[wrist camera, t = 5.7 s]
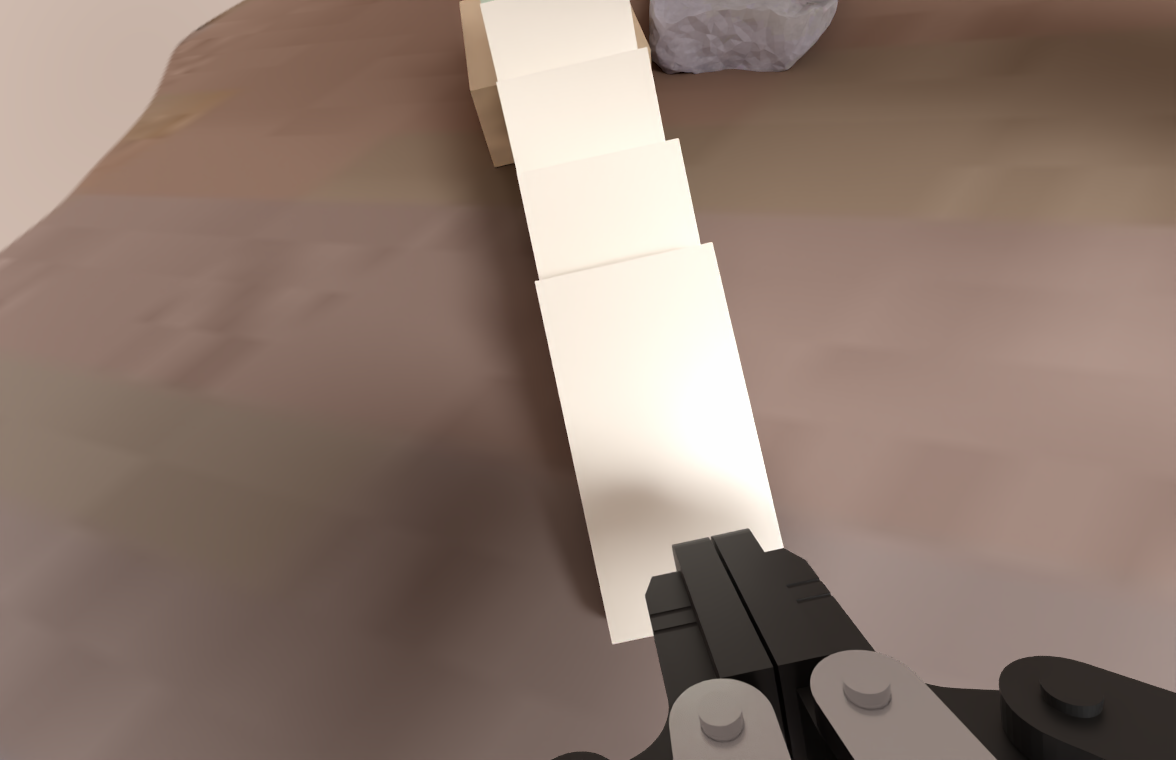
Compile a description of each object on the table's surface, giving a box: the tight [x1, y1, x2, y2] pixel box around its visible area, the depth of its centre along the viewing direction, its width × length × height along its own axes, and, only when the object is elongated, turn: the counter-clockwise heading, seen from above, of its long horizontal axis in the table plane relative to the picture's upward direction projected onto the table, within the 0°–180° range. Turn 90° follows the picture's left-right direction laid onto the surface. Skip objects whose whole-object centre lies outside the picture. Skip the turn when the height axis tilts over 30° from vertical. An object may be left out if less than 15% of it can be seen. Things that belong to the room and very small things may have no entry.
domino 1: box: [480, 0, 638, 81], centre depth 21 cm, size 2×5×10 cm
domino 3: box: [517, 138, 701, 280], centre depth 18 cm, size 2×5×10 cm
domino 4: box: [535, 242, 784, 644], centre depth 16 cm, size 2×5×10 cm
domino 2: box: [496, 47, 665, 173], centre depth 20 cm, size 2×5×10 cm
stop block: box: [459, 0, 651, 167], centre depth 29 cm, size 8×8×4 cm
